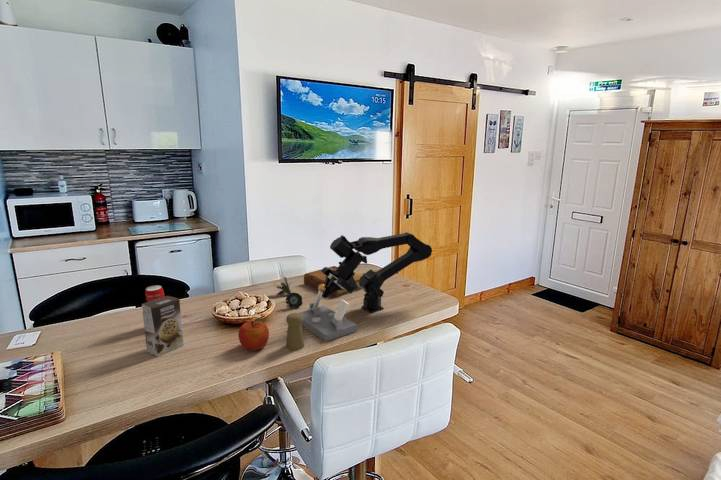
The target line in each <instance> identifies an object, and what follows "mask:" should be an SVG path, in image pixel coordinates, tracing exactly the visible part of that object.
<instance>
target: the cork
mask: <svg viewBox="0 0 721 480" xmlns="http://www.w3.org/2000/svg"><path fill="white" fill-rule="evenodd" d="M299 313H300V312H291V313H289V314H287V316H286V317H285V318H286V319H285V321H286V324H287V333H286V340H285V348H286V349H287V350H288V351H299V350H302V349H303V348H305V339H304V334H303V327H302V325H301V323H302V321H303V318H302V315H301V314H299Z"/></svg>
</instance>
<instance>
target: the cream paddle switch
mask: <svg viewBox="0 0 721 480" xmlns="http://www.w3.org/2000/svg"><path fill="white" fill-rule="evenodd" d="M338 302H339V304H338V306H337V309H336V310H335V311H334V312H335V315H334V317H332V318H331V320H330V321H331V322H332V323H333V324H334V325H335V326H336V321H339V320H342V318H343V317H344V315H345V313H346V312H347V309H348V308H349V307H350V305H351V304H350V303H349V302H347V301H346V300H345V299H342V298H340V299H339V301H338Z"/></svg>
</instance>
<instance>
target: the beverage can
mask: <svg viewBox="0 0 721 480" xmlns="http://www.w3.org/2000/svg"><path fill="white" fill-rule="evenodd" d="M144 294H145V300H146V302H149V301H153V300H156V299H159V298H162V297H165V296H166V295H165V292H164V288H163V287H162V285H160V284H159V285H158V284H156V285H150V286H147V287H146V288H145V291H144Z"/></svg>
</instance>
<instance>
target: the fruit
mask: <svg viewBox="0 0 721 480" xmlns="http://www.w3.org/2000/svg"><path fill="white" fill-rule="evenodd" d="M269 330H270V329H269V328H268V326H267V325H266V324H265V320H264V319H263V318H261V317H257V318H255V319H254V320H252V319H251V320H250V321H248V322H245V323H243V324H242V325H241V326H240V328H239V330H238V335H237V336H238V341H239V342H240V345H241V346H242V347H243V348H244V349H246V350H249V351H258V350H260V349H262V348H265V346H266V344H268V340H269V337H270V332H269Z"/></svg>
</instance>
